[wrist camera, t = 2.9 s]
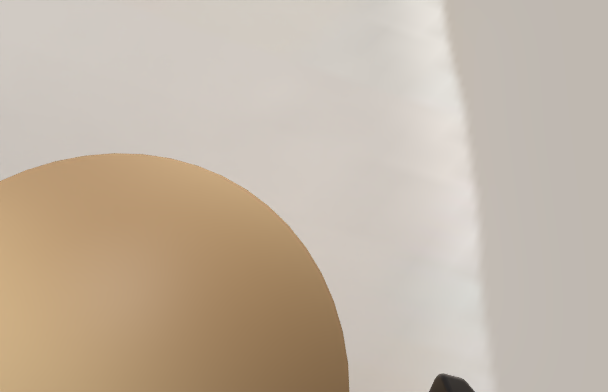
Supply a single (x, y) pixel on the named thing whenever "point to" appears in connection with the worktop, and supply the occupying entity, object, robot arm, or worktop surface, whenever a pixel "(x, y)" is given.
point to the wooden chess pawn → (157, 285)
